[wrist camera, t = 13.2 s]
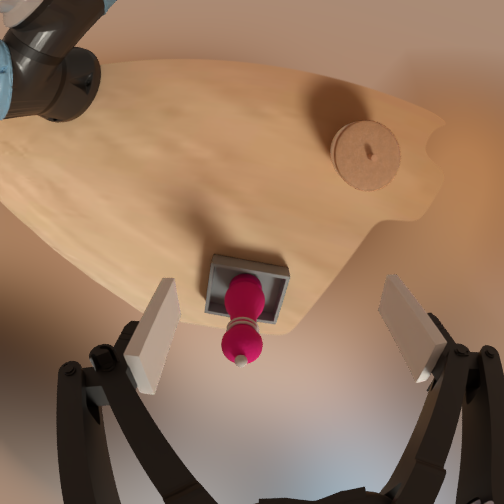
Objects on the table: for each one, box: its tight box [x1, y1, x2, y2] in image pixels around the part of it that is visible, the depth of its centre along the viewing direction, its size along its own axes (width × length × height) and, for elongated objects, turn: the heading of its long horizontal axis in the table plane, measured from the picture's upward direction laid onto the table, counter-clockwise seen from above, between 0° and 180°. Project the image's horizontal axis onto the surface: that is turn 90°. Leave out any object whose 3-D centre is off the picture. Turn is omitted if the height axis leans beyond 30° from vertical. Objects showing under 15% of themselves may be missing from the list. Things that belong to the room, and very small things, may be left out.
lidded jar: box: [330, 120, 401, 192], centre depth 39 cm, size 11×11×9 cm
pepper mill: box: [221, 274, 265, 367], centre depth 45 cm, size 7×7×20 cm
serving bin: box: [205, 254, 290, 324], centre depth 53 cm, size 14×11×4 cm
